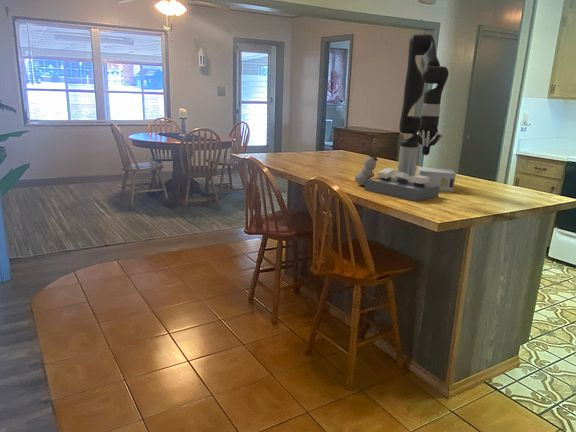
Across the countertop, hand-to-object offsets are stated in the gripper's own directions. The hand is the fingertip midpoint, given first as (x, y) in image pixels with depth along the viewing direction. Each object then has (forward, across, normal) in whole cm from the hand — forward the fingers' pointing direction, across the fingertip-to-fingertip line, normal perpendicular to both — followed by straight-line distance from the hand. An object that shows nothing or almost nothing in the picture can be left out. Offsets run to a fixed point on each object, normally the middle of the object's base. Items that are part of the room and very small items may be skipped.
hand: (425, 154), depth 202 cm
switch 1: (+12, +18, +2) cm, 22 cm away
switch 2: (+12, +9, +3) cm, 15 cm away
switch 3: (+12, 0, +2) cm, 12 cm away
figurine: (+19, +30, +2) cm, 36 cm away
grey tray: (+19, +9, +2) cm, 21 cm away
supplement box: (+19, +7, -24) cm, 31 cm away
